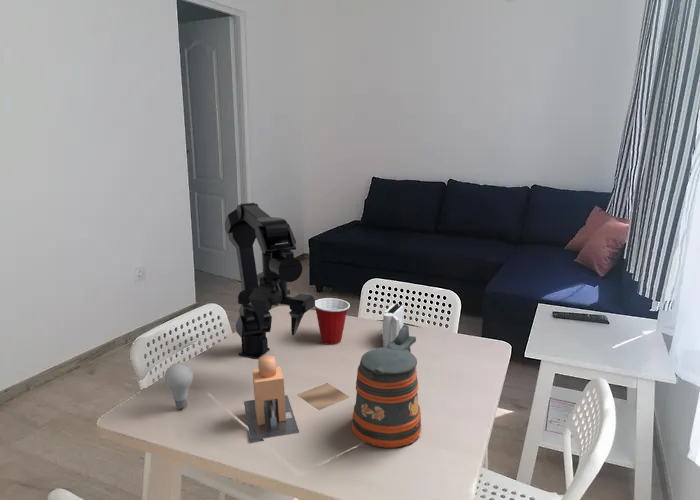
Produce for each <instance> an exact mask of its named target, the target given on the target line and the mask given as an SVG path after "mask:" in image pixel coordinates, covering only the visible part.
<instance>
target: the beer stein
mask: <svg viewBox="0 0 700 500" xmlns="http://www.w3.org/2000/svg"><path fill="white" fill-rule="evenodd" d="M409 329H410V328H409V325H408V324H403V326H402V328H401V329H400V331H399V333H398V336H397V337H396V338H395V339H394V340H393V341H392V342H391V343H389V344H388V347H383V346H382V347H379V348H378V347H377V348H374V349H371V350H368V351H366V352H365V353H364V354H362V356H361V358H360V361H359V362H360V363H359V365H358V367H357V372H356V381H355V390H356V397H355V403H354V406H353V410H352V411H353V412H352V424H351V430H352V432H353V433H354V435H355V436H356V437H357V438H359V439H360V440H361V441H362V442H363V443H365V444H367V445H369V446H372V447H376V448H382V449H383V448H389V449H391V448H392V449H394V448H395V449H397V448H400V447H401V448H402V447H404V446H406V445H410V444H412V443H414V442H416V440H418V439H419V437H420V435H421V433H422V422H421V420H422V411H421V407H420V404H419V395H418V394H419V393H418V392H419V380H418V371H417V365H418V359H417V357H416V356H415V355H414V354H413V353H412V351H411V346H412V345H414V343H416V341H417V337H416V336H412V335H410V330H409Z"/></svg>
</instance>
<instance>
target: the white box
mask: <svg viewBox="0 0 700 500" xmlns="http://www.w3.org/2000/svg"><path fill="white" fill-rule="evenodd" d="M404 309H405V306H404V304H399V303H396V304H395V303H393V304H392V305H390V306H389V307H388V308H387V309H386V310H385V311H384V313H383V315H382V316H383V319H382V348H383V347H388V344H389V343H391V342H392V341H393V340H394V339H395V338H396V337H397V336H398V333H399V331H400V329H401V328H402V326H403V325H404V323H405V322H404V318H405V317H404V315H405V314H404V313H405V310H404Z"/></svg>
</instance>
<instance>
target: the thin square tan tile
mask: <svg viewBox="0 0 700 500" xmlns="http://www.w3.org/2000/svg"><path fill="white" fill-rule="evenodd" d="M297 396H298V397H300V398H301V399H302V400H304V401H305V402H307V403H308V404H309V405H310V406H311V405H312V407H314V408H316V409H317V410H319V411H320V410H323V409H325V408H328V407H330V406H333V405H334V404H335V405H336V404H338V403H340V402H343V401H344V400H348V399H349V398H351V396H349V395H348V394H346V393H345V392H343V391H341V390H339V388H337V387H334V385H332V384H330V383H327V382H326V383H325V384H321V385H319V386H316V387H313V388H311V389H308V390H305V391H303V392H300V393H298V394H297Z"/></svg>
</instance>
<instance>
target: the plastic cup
mask: <svg viewBox="0 0 700 500" xmlns="http://www.w3.org/2000/svg"><path fill="white" fill-rule="evenodd" d="M350 306H351V305H350V303H349V302H348V301H346V300H343V299H340V298H336V297H335V298H333V297H325V298H318V299H315V306H314V307H313V308H315V313H316V319H317V324H318V329H319V333H320V338H321V341H322V343H323V344H326V345H337V344H340V343H341V342H342V338H343V332H344V328H345V325H346V324H345V322H346V317H347V313H348V310H349V309H350Z"/></svg>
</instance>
